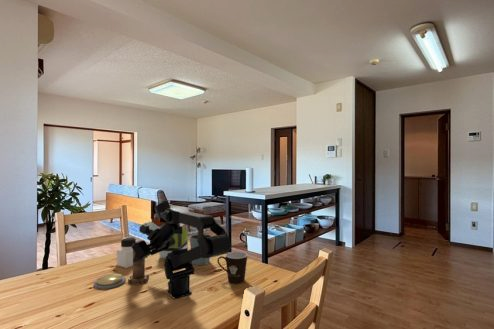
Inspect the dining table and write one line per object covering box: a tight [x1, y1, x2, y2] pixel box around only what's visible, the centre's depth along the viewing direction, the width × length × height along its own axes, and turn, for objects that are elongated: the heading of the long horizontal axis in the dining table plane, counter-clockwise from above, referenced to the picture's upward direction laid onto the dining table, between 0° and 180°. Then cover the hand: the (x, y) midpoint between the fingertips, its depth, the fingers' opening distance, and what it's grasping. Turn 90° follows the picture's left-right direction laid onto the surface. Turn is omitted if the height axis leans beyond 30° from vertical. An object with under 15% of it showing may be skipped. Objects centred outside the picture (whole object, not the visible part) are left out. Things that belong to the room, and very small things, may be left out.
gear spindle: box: [127, 250, 150, 286], centre depth 108 cm, size 8×7×12 cm
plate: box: [93, 275, 127, 290], centre depth 106 cm, size 11×11×1 cm
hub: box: [96, 273, 124, 286], centre depth 106 cm, size 9×9×1 cm
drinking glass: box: [189, 233, 213, 266], centre depth 130 cm, size 10×10×12 cm
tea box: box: [158, 223, 189, 259], centre depth 142 cm, size 15×10×15 cm
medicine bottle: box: [116, 236, 137, 269], centre depth 126 cm, size 7×7×12 cm
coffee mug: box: [216, 251, 248, 285], centre depth 110 cm, size 12×9×10 cm
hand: (142, 257), depth 108 cm, fingers open, 9 cm apart
